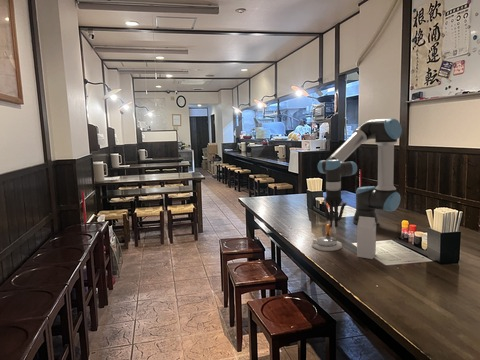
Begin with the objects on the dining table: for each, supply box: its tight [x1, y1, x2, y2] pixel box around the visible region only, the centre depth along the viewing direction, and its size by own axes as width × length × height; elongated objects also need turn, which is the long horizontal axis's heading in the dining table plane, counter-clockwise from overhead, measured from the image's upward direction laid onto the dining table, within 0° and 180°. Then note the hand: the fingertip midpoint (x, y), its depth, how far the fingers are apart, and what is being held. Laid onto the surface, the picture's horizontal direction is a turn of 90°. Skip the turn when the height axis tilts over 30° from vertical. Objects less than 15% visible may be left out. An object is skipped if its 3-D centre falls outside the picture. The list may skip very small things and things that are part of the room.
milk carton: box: [356, 216, 377, 260], centre depth 165 cm, size 7×7×19 cm
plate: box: [311, 238, 343, 252], centre depth 181 cm, size 15×15×3 cm
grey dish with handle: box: [316, 223, 338, 247], centre depth 182 cm, size 10×13×8 cm
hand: (334, 232), depth 185 cm, fingers closed
